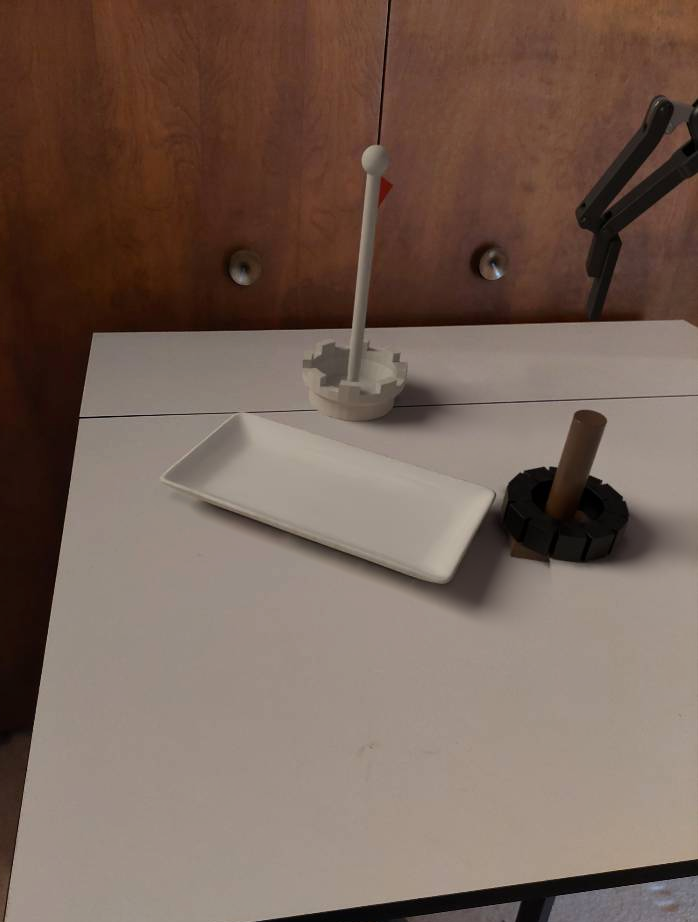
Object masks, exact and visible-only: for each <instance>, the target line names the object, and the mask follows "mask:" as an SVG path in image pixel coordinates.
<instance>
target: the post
mask: <svg viewBox="0 0 698 922" xmlns="http://www.w3.org/2000/svg"><path fill="white" fill-rule="evenodd" d="M607 423H608V418H607V416H605V415H604V414H602V413H601V412H598V411H596V410H594V409H593V410H592V409H579V410H576V411H575V412H574V414H573V416H572V420H571V423H570V425H569V429H568V431H567V432H568V433H567V436H566V439H565V442H564V444H563V445H564V446H563V448H562V451H561V455H560V459H559V462H558V465H557V467H558V468H557V471H556V474H555V478H554V481H553V484H552V487H551V491H550V494H549V497H548V500H547V502H546V503H541V504H536V506H537V507H538V508H539V509H540V510H541V511H542V512H543V513H545V514H548V515H550V516H552V517H554V518H556V519H559V520H561V521H568V522H575V523H584V522H589V521H591V520H590V519H589V518H588V517H587V516H586V515H585V514H584V513H583V512H582V511H580V510H577V509H578V506H579V503H580V500H581V497H582V494H583V492H584V489H585V486H586V483H587V480H588V477H589V475H591V471H592V468H593V464H594V462H595V459H596V455H597V454H598V450H599V447H600V444H601V442H602V439H603V435H604V433H605V430H606V427H607ZM508 534H509V535H508V536H509V547H510V548H509V550H510V557H514V558H522V559H528V560H533V561H534V560H536V561H542V560H543V562H549V561H550V562H551V558H550V553H549V554H548V555H547V556H546V557H545V556H543V555H540V554H538V553H536V552H534V551H532V550H530V549H528V548H526V547H524V546H522V543H523V541H522V542H517V541H516V540H515V539H514V538H513V537H512V536H511V535H510V533H509V532H508Z"/></svg>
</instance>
